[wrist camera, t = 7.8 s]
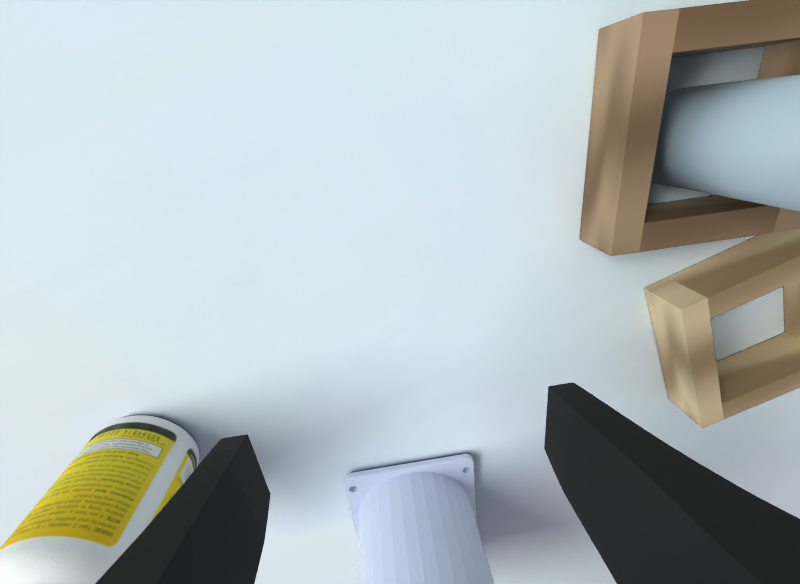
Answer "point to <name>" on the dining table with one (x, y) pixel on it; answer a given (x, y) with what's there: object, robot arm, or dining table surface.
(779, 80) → the thick gray cylindrical peg
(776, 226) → the wooden square ring
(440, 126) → the dining table surface
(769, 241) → the light wooden square frame
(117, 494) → the supplement bottle
